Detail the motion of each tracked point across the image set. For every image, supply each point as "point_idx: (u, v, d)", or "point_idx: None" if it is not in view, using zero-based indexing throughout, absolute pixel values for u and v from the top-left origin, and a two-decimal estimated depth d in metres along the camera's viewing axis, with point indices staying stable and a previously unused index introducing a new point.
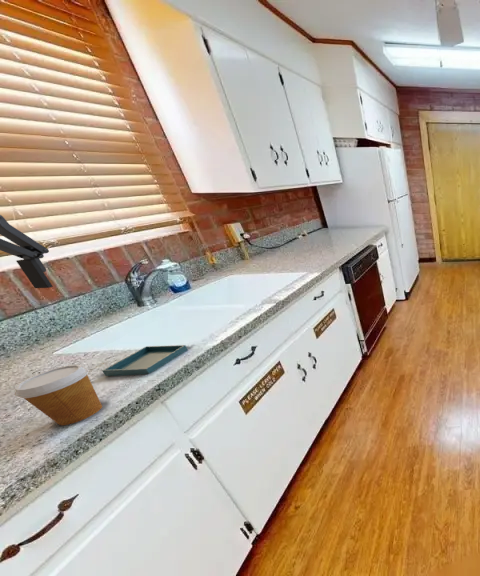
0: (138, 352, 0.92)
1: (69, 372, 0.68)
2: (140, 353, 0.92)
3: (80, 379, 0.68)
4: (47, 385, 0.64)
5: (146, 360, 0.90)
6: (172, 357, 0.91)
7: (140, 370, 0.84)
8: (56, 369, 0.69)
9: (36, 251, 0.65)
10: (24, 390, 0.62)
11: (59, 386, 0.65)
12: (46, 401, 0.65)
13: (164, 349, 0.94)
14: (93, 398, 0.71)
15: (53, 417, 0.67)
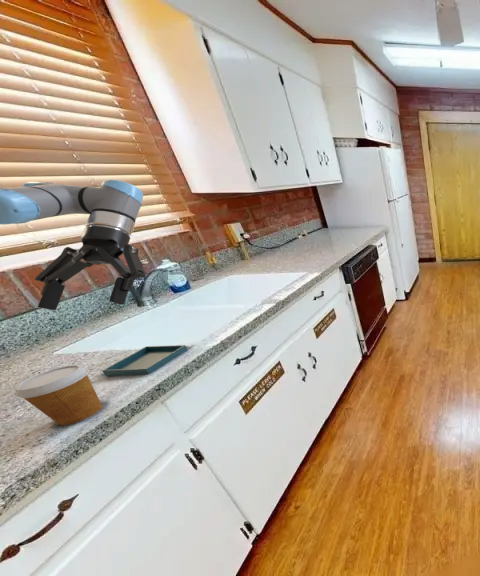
0: (138, 352, 0.92)
1: (69, 372, 0.68)
2: (140, 353, 0.92)
3: (80, 379, 0.68)
4: (47, 385, 0.64)
5: (146, 360, 0.90)
6: (172, 357, 0.91)
7: (140, 370, 0.84)
8: (56, 369, 0.69)
9: None
10: (24, 390, 0.62)
11: (59, 386, 0.65)
12: (46, 401, 0.65)
13: (164, 349, 0.94)
14: (93, 398, 0.71)
15: (53, 417, 0.67)
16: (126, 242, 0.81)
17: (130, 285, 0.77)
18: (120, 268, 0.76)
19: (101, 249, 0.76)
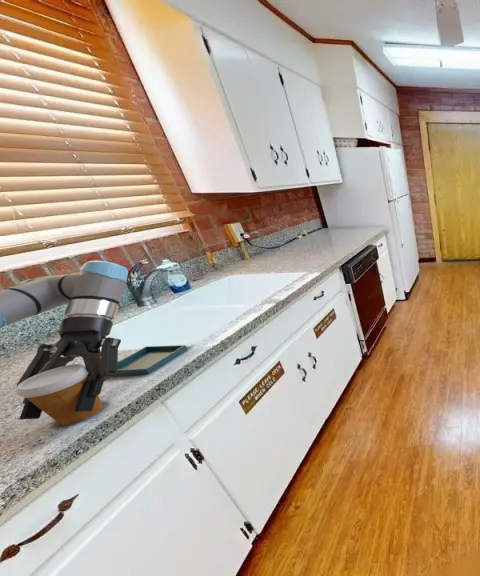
0: (138, 352, 0.92)
1: (71, 372, 0.68)
2: (140, 353, 0.92)
3: (83, 379, 0.68)
4: (50, 385, 0.64)
5: (146, 360, 0.90)
6: (172, 357, 0.91)
7: (140, 370, 0.84)
8: (58, 368, 0.69)
9: None
10: (27, 390, 0.62)
11: (62, 386, 0.65)
12: (48, 401, 0.65)
13: (164, 349, 0.94)
14: None
15: (54, 417, 0.67)
16: (108, 329, 0.75)
17: (99, 388, 0.70)
18: (91, 369, 0.70)
19: (80, 343, 0.71)
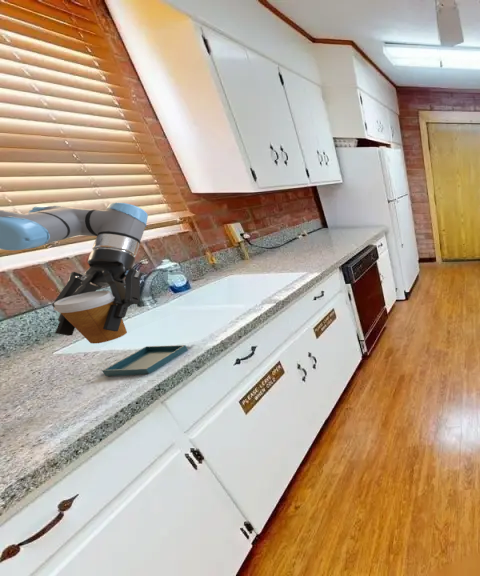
0: (138, 352, 0.92)
1: (100, 295, 0.76)
2: (140, 353, 0.92)
3: (110, 302, 0.76)
4: (82, 303, 0.72)
5: (146, 360, 0.90)
6: (172, 357, 0.91)
7: (140, 370, 0.84)
8: (88, 293, 0.77)
9: None
10: (62, 305, 0.71)
11: (92, 305, 0.73)
12: (81, 318, 0.73)
13: (164, 349, 0.94)
14: None
15: (85, 334, 0.75)
16: (131, 263, 0.83)
17: (124, 312, 0.78)
18: (117, 294, 0.78)
19: (107, 272, 0.79)
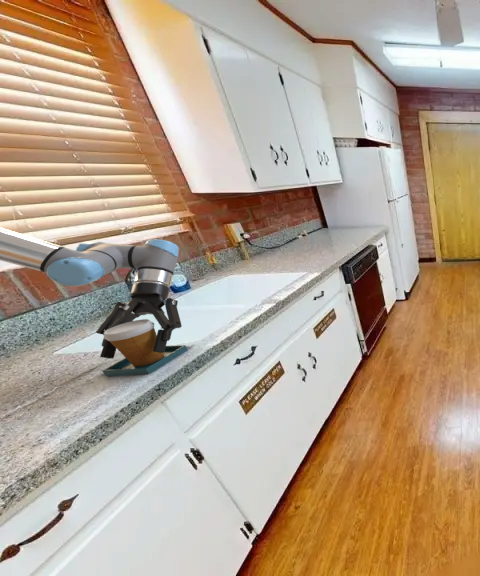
0: None
1: (141, 324, 0.87)
2: None
3: (150, 329, 0.87)
4: (128, 332, 0.83)
5: None
6: (172, 357, 0.91)
7: (140, 370, 0.84)
8: (130, 322, 0.88)
9: None
10: (112, 334, 0.81)
11: (136, 333, 0.84)
12: (127, 345, 0.83)
13: None
14: None
15: (130, 358, 0.85)
16: (167, 294, 0.94)
17: (169, 335, 0.89)
18: (161, 320, 0.89)
19: (147, 302, 0.89)
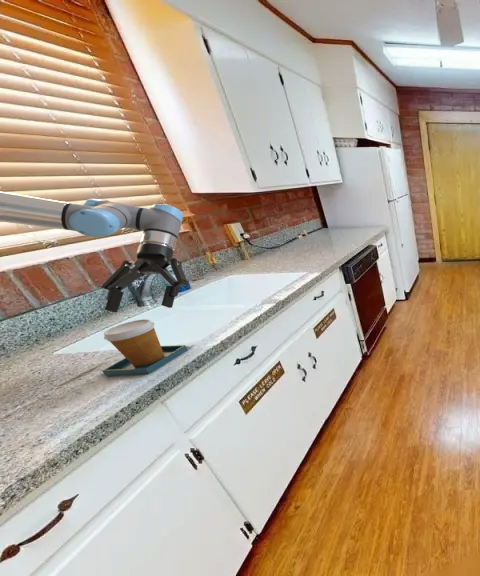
0: None
1: (141, 324, 0.87)
2: None
3: (150, 330, 0.87)
4: (128, 332, 0.83)
5: None
6: (172, 357, 0.91)
7: (140, 370, 0.84)
8: (130, 322, 0.88)
9: None
10: (112, 335, 0.81)
11: (136, 333, 0.84)
12: (127, 345, 0.83)
13: (164, 349, 0.94)
14: (158, 346, 0.90)
15: (130, 358, 0.85)
16: (171, 256, 0.98)
17: (177, 292, 0.93)
18: (169, 278, 0.93)
19: (153, 262, 0.93)
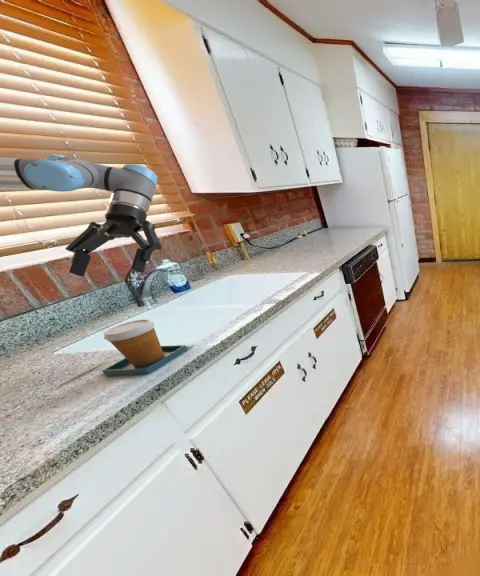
0: None
1: (141, 324, 0.87)
2: None
3: (150, 330, 0.87)
4: (128, 332, 0.82)
5: None
6: (172, 357, 0.91)
7: (140, 370, 0.84)
8: (130, 322, 0.88)
9: None
10: (112, 335, 0.81)
11: (136, 333, 0.84)
12: (127, 345, 0.83)
13: (164, 349, 0.94)
14: (158, 346, 0.90)
15: (130, 358, 0.85)
16: (144, 219, 0.91)
17: (148, 256, 0.87)
18: (140, 241, 0.87)
19: (123, 224, 0.87)
